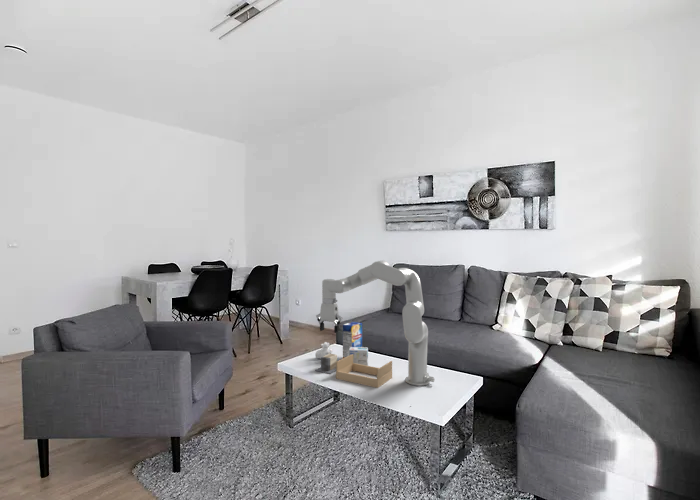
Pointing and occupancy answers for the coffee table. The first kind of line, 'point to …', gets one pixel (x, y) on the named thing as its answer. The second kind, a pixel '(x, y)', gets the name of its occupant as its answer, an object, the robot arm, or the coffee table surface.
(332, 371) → the grey mat
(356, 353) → the light bulb box
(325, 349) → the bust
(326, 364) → the block
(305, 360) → the coffee table surface
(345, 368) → the carton
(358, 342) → the blue yellow food box
